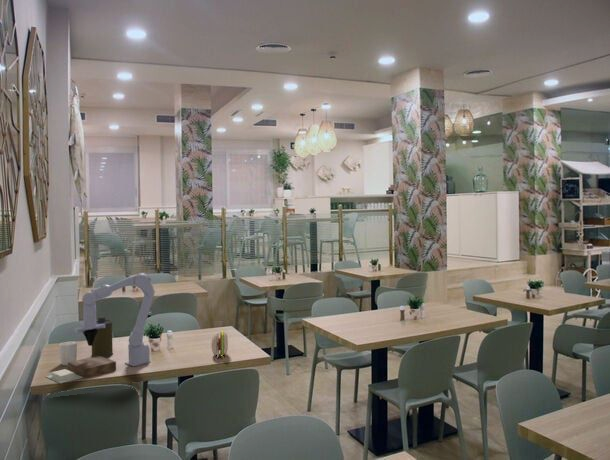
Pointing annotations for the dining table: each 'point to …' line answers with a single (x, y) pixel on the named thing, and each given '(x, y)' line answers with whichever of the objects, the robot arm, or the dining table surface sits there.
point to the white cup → (68, 352)
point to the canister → (103, 339)
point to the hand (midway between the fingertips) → (90, 345)
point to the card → (63, 374)
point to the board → (92, 366)
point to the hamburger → (219, 344)
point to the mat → (64, 380)
